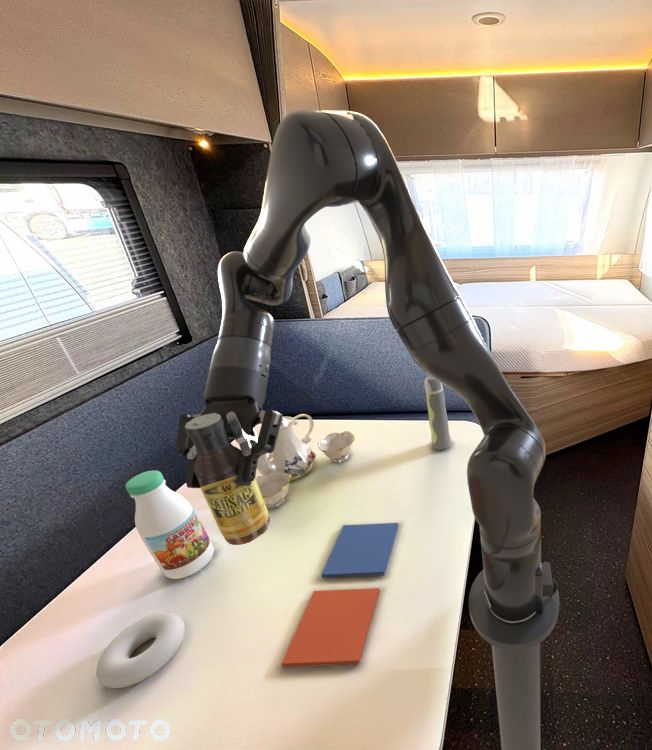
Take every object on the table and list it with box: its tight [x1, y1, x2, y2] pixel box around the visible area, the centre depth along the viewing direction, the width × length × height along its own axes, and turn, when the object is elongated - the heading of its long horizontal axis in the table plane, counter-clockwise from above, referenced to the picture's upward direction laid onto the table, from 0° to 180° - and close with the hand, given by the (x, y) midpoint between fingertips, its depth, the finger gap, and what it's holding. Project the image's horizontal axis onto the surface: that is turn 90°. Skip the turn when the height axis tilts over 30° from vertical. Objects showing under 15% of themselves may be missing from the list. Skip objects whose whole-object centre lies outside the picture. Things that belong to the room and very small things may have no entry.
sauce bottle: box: [185, 414, 271, 546], centre depth 55 cm, size 6×6×20 cm
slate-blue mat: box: [320, 522, 399, 578], centre depth 72 cm, size 11×11×1 cm
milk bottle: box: [125, 470, 215, 580], centre depth 67 cm, size 8×8×20 cm
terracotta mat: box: [281, 587, 381, 668], centre depth 60 cm, size 11×11×1 cm
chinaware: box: [255, 413, 356, 509], centre depth 90 cm, size 28×17×17 cm, turn 154°
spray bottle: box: [423, 375, 452, 451], centre depth 97 cm, size 5×5×20 cm
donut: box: [95, 611, 186, 689], centre depth 57 cm, size 10×4×10 cm
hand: (219, 486), depth 53 cm, fingers closed on sauce bottle, 6 cm apart
